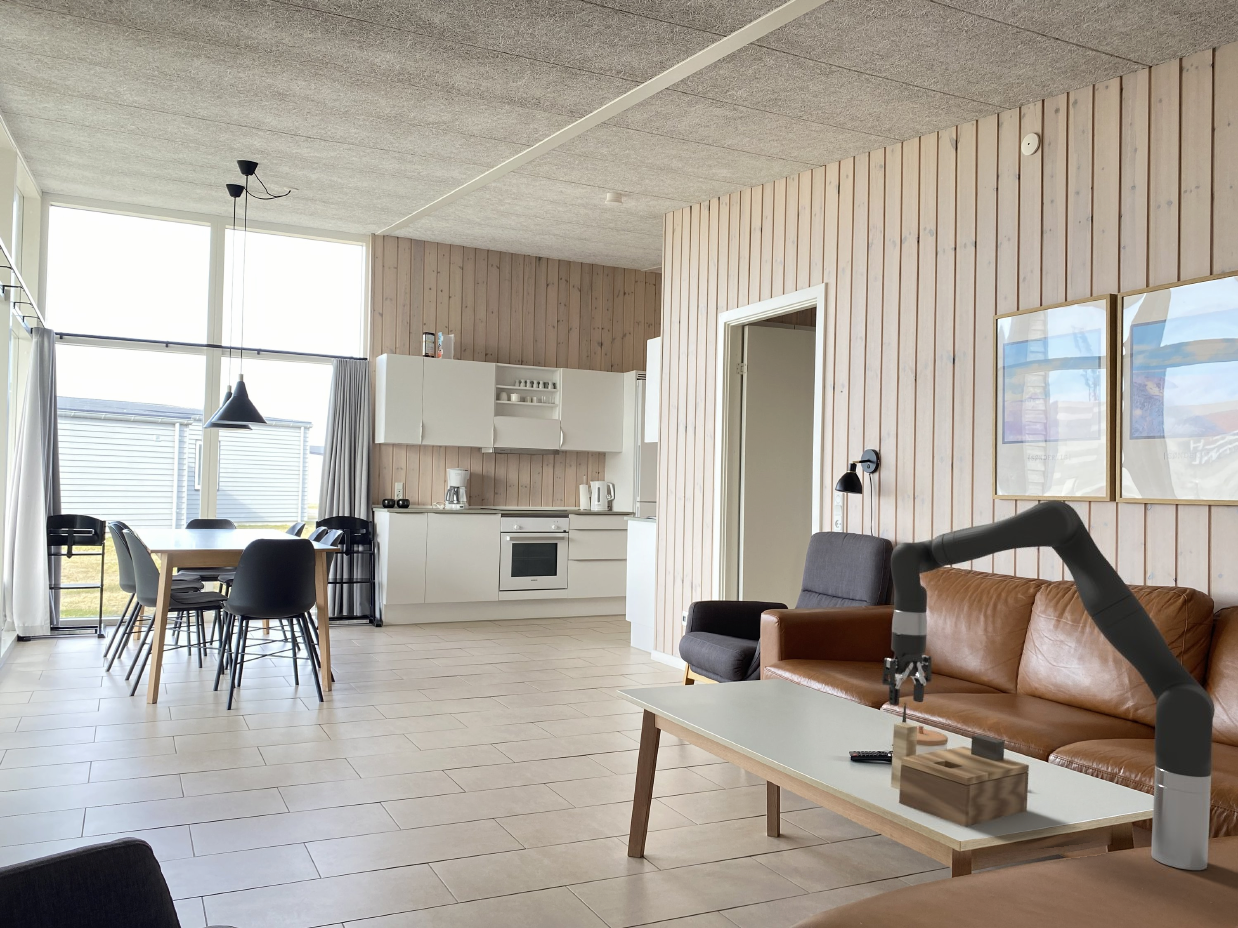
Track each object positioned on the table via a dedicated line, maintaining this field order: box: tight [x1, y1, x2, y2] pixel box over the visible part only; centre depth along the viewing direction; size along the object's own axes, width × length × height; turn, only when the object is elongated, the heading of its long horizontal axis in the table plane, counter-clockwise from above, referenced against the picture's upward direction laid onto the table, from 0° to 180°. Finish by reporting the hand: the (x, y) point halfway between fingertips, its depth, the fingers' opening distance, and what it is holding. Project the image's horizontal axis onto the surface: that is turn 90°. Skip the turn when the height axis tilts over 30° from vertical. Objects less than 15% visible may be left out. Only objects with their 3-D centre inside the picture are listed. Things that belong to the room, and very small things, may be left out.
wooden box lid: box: [901, 734, 1030, 785], centre depth 210 cm, size 22×16×5 cm
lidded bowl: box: [916, 724, 949, 755], centre depth 239 cm, size 13×13×11 cm
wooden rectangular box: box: [898, 765, 1029, 827], centre depth 209 cm, size 22×16×9 cm
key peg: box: [890, 722, 918, 790], centre depth 221 cm, size 4×4×15 cm
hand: (906, 703), depth 221 cm, fingers open, 8 cm apart
